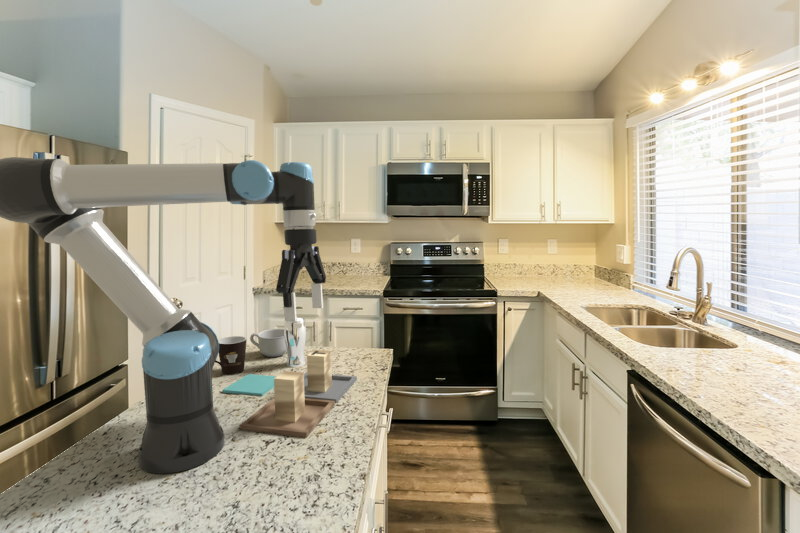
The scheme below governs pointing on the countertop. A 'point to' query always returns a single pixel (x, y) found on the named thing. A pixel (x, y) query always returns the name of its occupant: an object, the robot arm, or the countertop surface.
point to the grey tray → (331, 388)
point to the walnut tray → (300, 428)
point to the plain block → (289, 396)
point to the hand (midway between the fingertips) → (305, 313)
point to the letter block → (319, 371)
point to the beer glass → (295, 341)
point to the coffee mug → (232, 354)
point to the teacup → (270, 342)
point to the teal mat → (251, 385)
